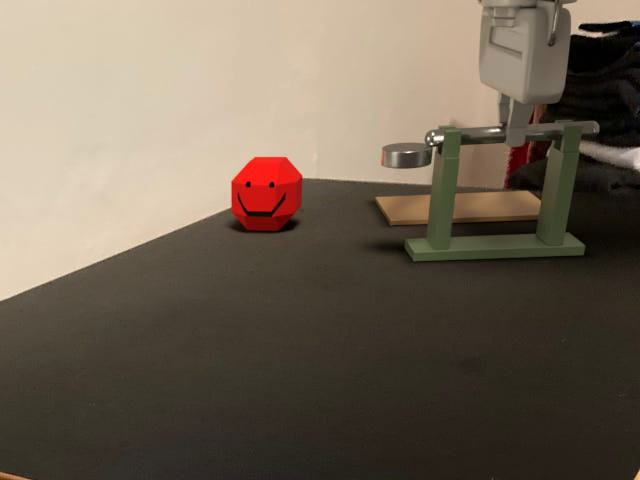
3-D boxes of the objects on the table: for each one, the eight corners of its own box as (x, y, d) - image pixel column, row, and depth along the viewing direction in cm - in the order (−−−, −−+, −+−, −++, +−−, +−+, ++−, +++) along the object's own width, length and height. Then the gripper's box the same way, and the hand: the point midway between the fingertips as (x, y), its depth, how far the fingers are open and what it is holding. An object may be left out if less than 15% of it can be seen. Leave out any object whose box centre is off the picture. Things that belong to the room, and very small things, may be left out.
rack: (567, 241, 110) (590, 117, 102) (583, 255, 105) (608, 125, 98) (404, 247, 111) (415, 125, 104) (413, 261, 106) (425, 134, 99)
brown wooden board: (527, 195, 130) (527, 190, 130) (557, 219, 118) (558, 213, 118) (374, 201, 131) (375, 196, 131) (390, 225, 120) (390, 220, 119)
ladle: (586, 149, 104) (592, 116, 102) (602, 158, 100) (608, 124, 98) (377, 160, 106) (379, 128, 104) (384, 170, 101) (386, 136, 100)
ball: (227, 233, 120) (226, 165, 116) (242, 218, 126) (242, 153, 122) (291, 235, 118) (293, 165, 114) (304, 220, 124) (306, 153, 120)
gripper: (599, -16, 85) (570, 159, 93) (537, -22, 102) (517, 127, 110) (524, -11, 85) (502, 162, 93) (475, -18, 102) (459, 130, 110)
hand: (509, 143), depth 102 cm, fingers closed on ladle
